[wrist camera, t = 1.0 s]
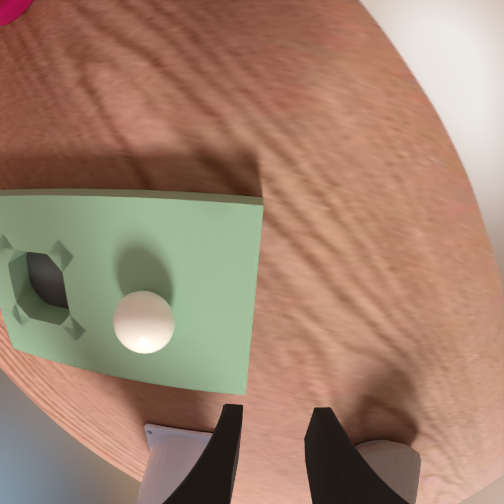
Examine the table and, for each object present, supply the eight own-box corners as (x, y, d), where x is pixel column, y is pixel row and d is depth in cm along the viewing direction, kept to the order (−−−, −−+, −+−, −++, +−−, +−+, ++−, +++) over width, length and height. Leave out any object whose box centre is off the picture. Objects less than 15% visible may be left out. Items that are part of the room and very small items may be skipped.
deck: (246, 372, 23) (245, 394, 20) (27, 333, 23) (13, 348, 20) (262, 197, 18) (263, 205, 16) (1, 189, 18) (-20, 196, 16)
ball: (181, 334, 19) (168, 370, 15) (129, 327, 19) (108, 360, 15) (180, 283, 18) (164, 315, 14) (123, 277, 18) (98, 305, 14)
